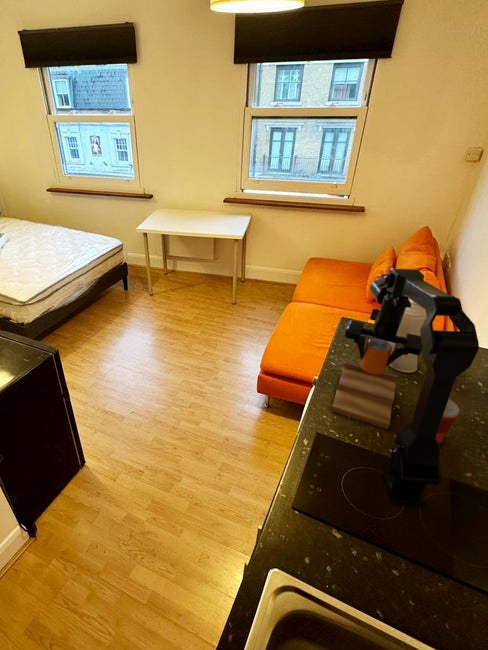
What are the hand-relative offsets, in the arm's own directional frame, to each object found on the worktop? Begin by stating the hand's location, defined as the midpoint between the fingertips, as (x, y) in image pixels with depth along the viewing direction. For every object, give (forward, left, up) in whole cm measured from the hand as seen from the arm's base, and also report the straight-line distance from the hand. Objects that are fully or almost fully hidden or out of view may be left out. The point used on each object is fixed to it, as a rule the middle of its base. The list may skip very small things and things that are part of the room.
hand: (374, 361), depth 106 cm
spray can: (+18, -15, -13) cm, 26 cm away
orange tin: (0, 0, -2) cm, 2 cm away
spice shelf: (-2, 0, -13) cm, 13 cm away
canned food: (-13, -14, -13) cm, 23 cm away
